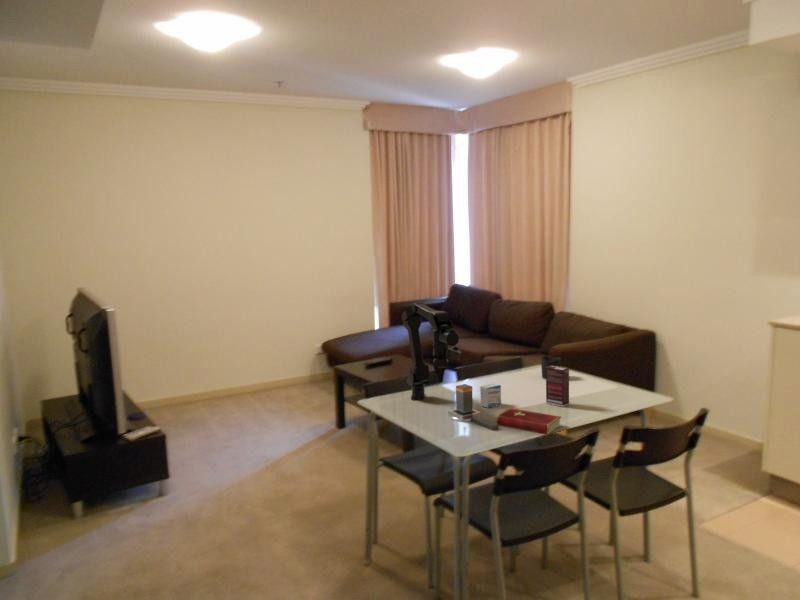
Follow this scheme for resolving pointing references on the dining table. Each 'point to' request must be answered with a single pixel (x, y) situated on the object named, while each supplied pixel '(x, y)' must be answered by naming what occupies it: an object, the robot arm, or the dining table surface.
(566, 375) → the supplement box
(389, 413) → the dining table surface
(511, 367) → the dining table surface
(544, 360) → the pen holder
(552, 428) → the hardcover book
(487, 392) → the medicine box
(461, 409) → the grey orange-banded block
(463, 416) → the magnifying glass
